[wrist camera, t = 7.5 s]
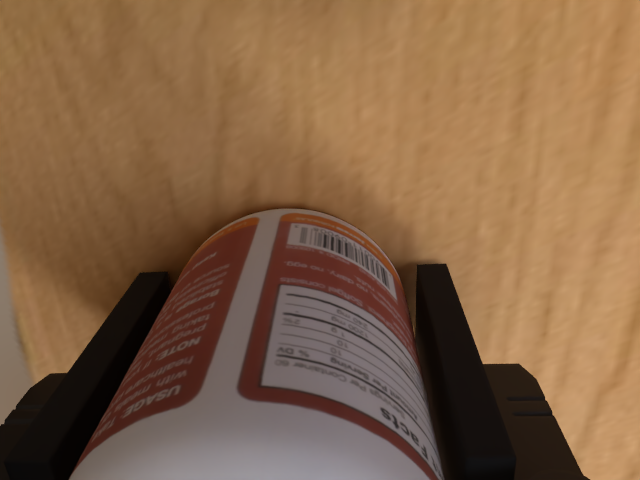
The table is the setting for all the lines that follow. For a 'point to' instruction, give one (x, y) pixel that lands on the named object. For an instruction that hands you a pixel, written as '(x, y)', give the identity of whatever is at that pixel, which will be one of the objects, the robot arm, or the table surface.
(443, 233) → the table surface
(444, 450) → the robot arm
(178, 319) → the pill bottle
